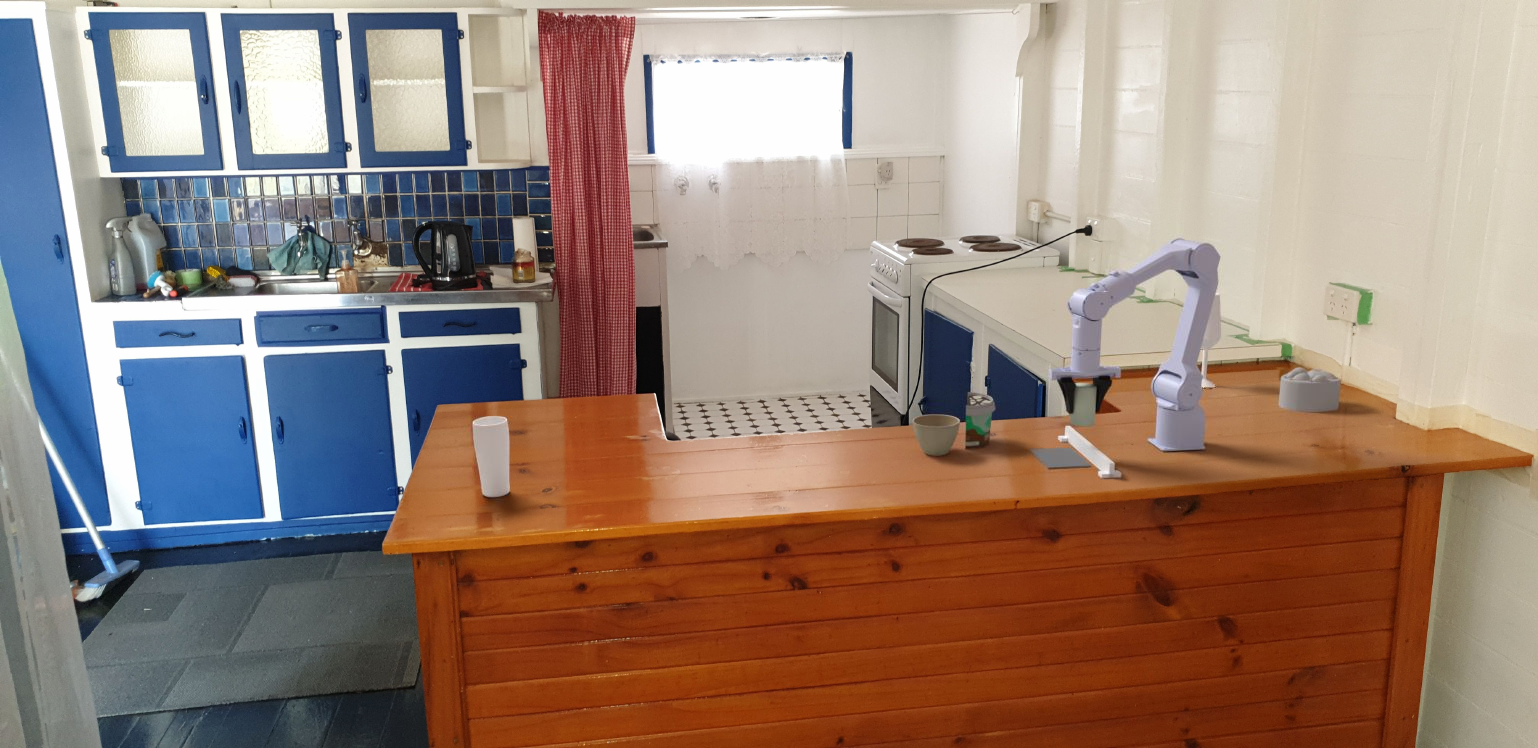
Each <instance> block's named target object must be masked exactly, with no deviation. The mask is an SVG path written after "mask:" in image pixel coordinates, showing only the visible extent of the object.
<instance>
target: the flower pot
mask: <svg viewBox="0 0 1538 748" xmlns="http://www.w3.org/2000/svg"><path fill="white" fill-rule="evenodd" d="M960 423H961V420H960V418H958V417H956V416H953V415H948V414H923V415H919V416H915V417H914V418H913V419H912V426H913V430H914V434H915V439H916V440H917V443H918V444H919V447H920V448H921V449H922V451H923V453H924V454H925V455H928V456H934V457H935V456H938V457H939V456H945V455H947V454H948V453H949V452H950V451H951V449H952V448H953V445H954V443H955V441H956V439H957V436H958V434H959V429H960Z"/></svg>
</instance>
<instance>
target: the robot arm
mask: <svg viewBox="0 0 1538 748" xmlns="http://www.w3.org/2000/svg"><path fill="white" fill-rule="evenodd" d="M1220 260H1221V255H1220V254H1219V252H1218V251H1217V249H1216V248H1215V246H1214V245H1213V244H1211V243H1209V242H1200V241H1195V240H1194V241H1193V240H1186V239H1185V238H1179V237H1177V238H1174V239H1172V240H1170V241H1169V242H1166V243H1164V244H1162V245H1161V247H1160V248H1159V250H1157V251H1155V253H1153V254H1152V255H1150V256H1148V257H1146V258H1145V259H1144V260H1143V261H1141V262H1139V263H1138V264H1136V265H1135V266H1134V267H1132V268H1130V269H1129V270H1127V271H1125V270H1121V269H1119V270H1114V269H1113V270H1111V271H1109V272H1108V276H1106V277H1104V278H1103V279H1100V280H1099V281H1098V282H1097V281H1096V282H1092V283H1091V284H1089V285H1090V286H1089V287H1088V288H1083V287H1082V288H1078V289H1077V290H1075V291H1074V292H1073V293H1072V294H1071V296H1070V298H1069V301H1067V304H1066V305H1067V310H1068V311H1069V312H1070V314H1071V322H1072V328H1071V330H1072V332H1071V334H1072V335H1071V350H1070V353H1071V354H1070V366H1064V367H1057V368H1049V369H1048V379H1050V381H1057V384H1058V385H1059V389H1060V391H1061V393H1062V397H1063V400H1064V405H1065V411H1066V413H1068V414H1069V415H1070V414H1073V407H1074V393H1075V388H1076V384H1075V383H1076V382H1074V379H1092V384H1094V385H1096V386H1097V391H1096V410H1095V414H1098V413H1100V410H1101V407H1102V404H1103V401H1104V399H1105V397H1106V395H1107V393H1108V391H1109V390H1110V388H1111V387H1112V385H1113V379H1111V378H1115V379H1117V378H1119V379H1120V378H1121V376H1122V375H1121V374H1122V368H1121V367H1119V366H1117V365H1116V366H1111V365H1110V366H1106V365H1105V366H1103V365H1100V363H1101V344H1102V326H1103V319H1104V318H1106V316H1107V314H1108V313H1109V311H1110V309H1111V308H1112V307H1114V306H1115V305H1117V304H1119V303H1121V302H1123V300H1125V299H1128V298H1129V297H1131V296H1133V295H1134V294H1135V292H1136V287H1137V286H1139V285H1141V284H1143V283H1145V282H1146V281H1148V280H1151V279H1152V278H1154V277H1156V276H1159V275H1161V274H1162V273H1164V272H1166V271H1168V270H1170V271H1175V272H1176V273H1178V275H1180V276H1181V277H1182V279H1183V280H1184V282H1185V283H1186V285H1187V287H1188V288H1187V291H1186V296H1185V299H1184V303H1183V306H1182V307H1183V308H1182V311H1181V314H1180V317H1179V322H1178V326H1177V329H1176V333H1175V337H1174V341H1173V343H1172V344H1173V345H1172V347H1171V348H1172V349H1171V352H1170V355H1169V358H1168V359H1167V360H1165V361H1163V362H1162V363H1161V364H1160V365H1159V368H1158V371H1157V373H1156V374H1155V375H1154V376H1153V379H1152V380H1151V384H1150V389H1151V393H1152V394H1153V396H1154V397H1155V403H1157V407H1156V408H1157V409H1156V420H1155V421H1156V422H1155V437H1152V438H1151V437H1150V438H1149V437H1148V438H1147V441H1148V442H1150V443H1151V444H1152V445H1153V446H1155V447H1156V448H1157V449H1159V450H1160V451H1161V452H1173V451H1174V452H1175V451H1194V450H1195V451H1197V450H1200V451H1201V450H1205V449H1206V446H1204V445H1205V433H1206V432H1205V431H1206V414H1205V410H1204V409H1203V407H1202V406H1201V405H1200V404H1199V403H1200V401H1201V399H1202V398H1203V397H1202V396H1203V389H1202V379H1203V375H1202V371H1201V370H1200V369H1199V367H1198V360H1199V357H1200V353H1201V349H1202V348H1201V346H1202V342H1203V338H1204V335H1205V331H1206V327H1207V324H1208V320H1209V316H1210V312H1211V309H1212V305H1213V301H1214V298H1215V294H1216V293H1217V290H1218V286H1219V273H1218V269H1219V264H1220Z"/></svg>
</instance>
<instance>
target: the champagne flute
mask: <svg viewBox="0 0 1538 748" xmlns="http://www.w3.org/2000/svg"><path fill="white" fill-rule="evenodd" d="M1221 322H1222V321H1221V294H1220V293H1219V292H1216V294H1215V298H1214V301H1213V305H1212V309H1211V312H1210V316H1209V320H1208V324H1207V327H1206V331H1205V335H1204V338H1203V342H1202V346H1201V349H1203V351H1202V363H1201V374H1202V375H1203V379H1202V387H1203V388H1204V387H1215V385H1216V384H1214V383H1213V382H1212V381H1210V380H1208V379H1207V370H1208V359H1209V358H1208V356H1209V350H1210V349H1212V348H1213V347H1214V346H1215V345H1217V344H1218V343H1219V341H1220V340H1221V338H1222V328H1221V325H1222V324H1221Z"/></svg>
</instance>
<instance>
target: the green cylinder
mask: <svg viewBox="0 0 1538 748" xmlns="http://www.w3.org/2000/svg"><path fill="white" fill-rule="evenodd" d="M1074 383H1075V384H1076V388H1075V393H1074V407H1073V414H1069V424H1070V425H1072V426H1076V427H1083V428H1084V427H1085V428H1086V427H1087V428H1088V427H1093V426H1094V425H1095V423H1096V412H1095V410H1096V391H1097V386H1096V385H1094V384H1093V383H1089V382H1074Z"/></svg>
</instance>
